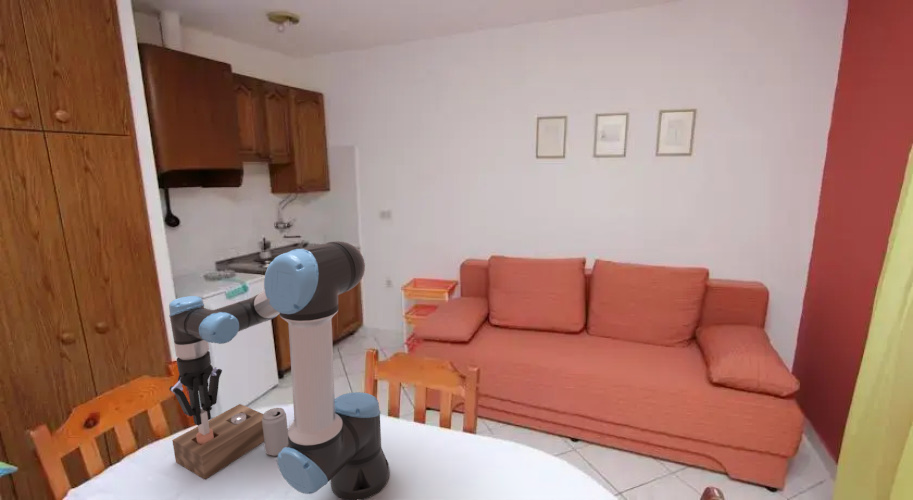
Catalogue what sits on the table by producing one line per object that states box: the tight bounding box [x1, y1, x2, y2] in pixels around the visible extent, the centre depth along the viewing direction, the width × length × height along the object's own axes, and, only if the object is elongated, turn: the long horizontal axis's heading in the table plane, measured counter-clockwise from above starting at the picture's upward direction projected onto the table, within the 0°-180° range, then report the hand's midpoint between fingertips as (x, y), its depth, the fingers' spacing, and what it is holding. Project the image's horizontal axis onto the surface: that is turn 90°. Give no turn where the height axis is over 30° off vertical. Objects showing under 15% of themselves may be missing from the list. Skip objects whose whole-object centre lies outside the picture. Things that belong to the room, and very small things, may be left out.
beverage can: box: [262, 407, 289, 457], centre depth 118 cm, size 6×6×12 cm
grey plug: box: [231, 413, 246, 425], centre depth 123 cm, size 4×4×6 cm
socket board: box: [172, 403, 265, 480], centre depth 119 cm, size 14×20×7 cm
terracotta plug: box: [196, 429, 214, 445], centre depth 114 cm, size 4×4×6 cm
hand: (204, 432), depth 114 cm, fingers closed
